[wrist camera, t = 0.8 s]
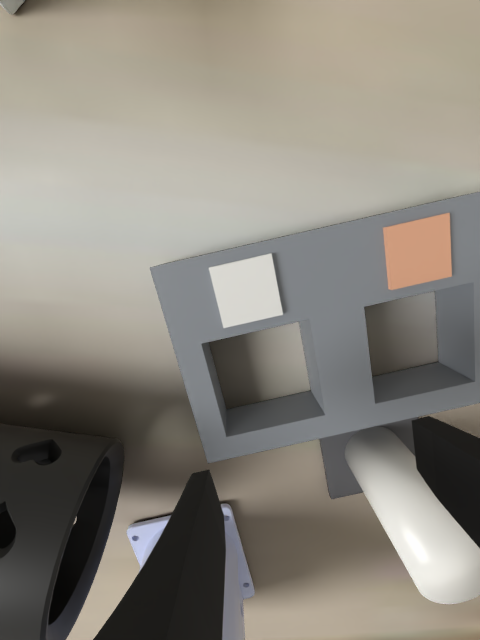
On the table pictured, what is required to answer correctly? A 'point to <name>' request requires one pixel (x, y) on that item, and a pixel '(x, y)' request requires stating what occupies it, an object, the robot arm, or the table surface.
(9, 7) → the small box
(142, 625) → the robot arm
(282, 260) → the socket board
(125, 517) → the table surface
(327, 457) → the plug mat
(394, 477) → the plug
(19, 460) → the muzzle brake
